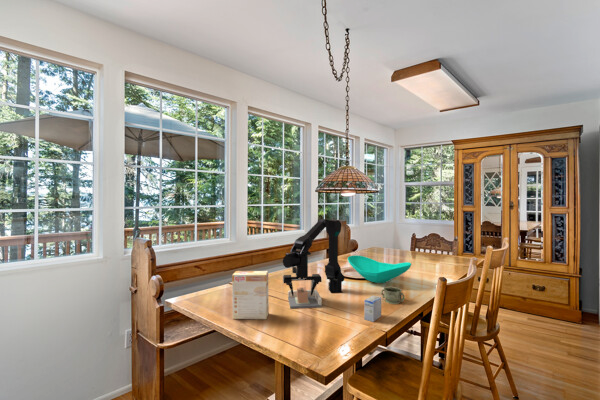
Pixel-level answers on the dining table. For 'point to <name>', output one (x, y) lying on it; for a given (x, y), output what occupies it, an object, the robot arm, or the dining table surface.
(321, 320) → the dining table surface
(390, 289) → the vessel
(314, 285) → the robot arm
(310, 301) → the tray
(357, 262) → the table top decor
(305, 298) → the terracotta block
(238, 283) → the coffeecake box
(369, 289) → the dining table surface
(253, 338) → the dining table surface
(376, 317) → the medicine box
